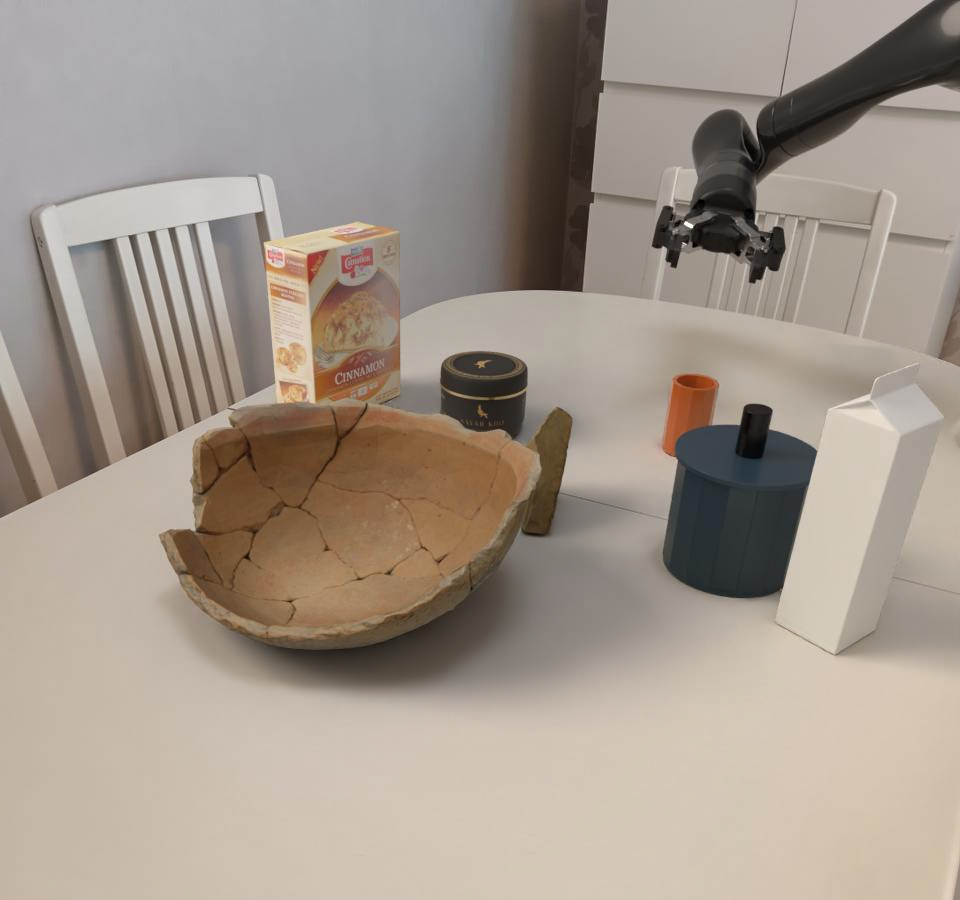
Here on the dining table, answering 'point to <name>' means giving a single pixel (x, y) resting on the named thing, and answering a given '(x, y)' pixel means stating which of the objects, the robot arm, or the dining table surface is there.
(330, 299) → the coffeecake box
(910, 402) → the milk
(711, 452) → the pot lid
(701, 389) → the orange pipe segment
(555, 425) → the rock
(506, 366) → the jar
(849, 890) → the dining table surface
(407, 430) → the ceramic bowl
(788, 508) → the pot
